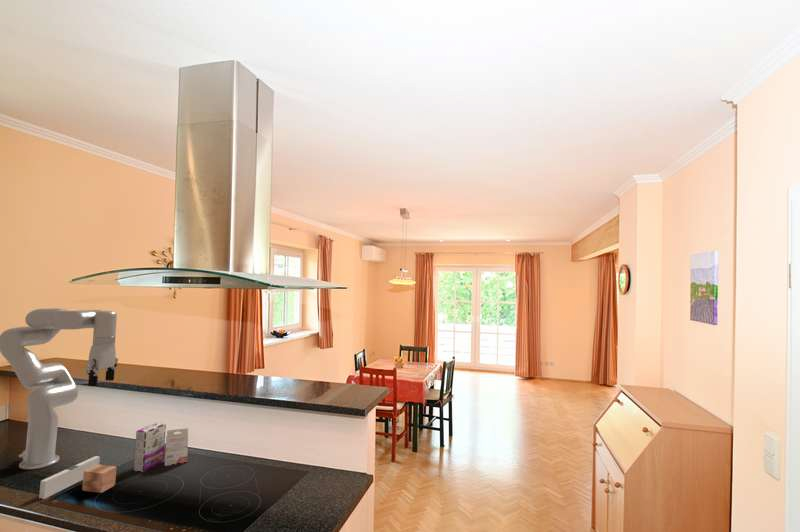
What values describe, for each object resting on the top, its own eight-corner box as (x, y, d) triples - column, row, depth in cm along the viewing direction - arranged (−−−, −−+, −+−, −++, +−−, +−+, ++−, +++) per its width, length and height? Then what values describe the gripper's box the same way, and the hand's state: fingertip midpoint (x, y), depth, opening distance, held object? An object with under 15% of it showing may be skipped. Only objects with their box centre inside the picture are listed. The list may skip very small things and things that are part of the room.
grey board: (38, 498, 143) (40, 480, 143) (94, 471, 164) (95, 455, 165) (44, 499, 142) (45, 480, 143) (98, 471, 164) (100, 456, 164)
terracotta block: (82, 490, 149) (83, 471, 150) (96, 483, 155) (98, 464, 156) (101, 493, 148) (103, 473, 149) (115, 485, 154) (116, 466, 154)
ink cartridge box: (186, 458, 180) (189, 424, 181) (186, 463, 175) (189, 428, 176) (164, 461, 176) (167, 427, 177) (163, 466, 171) (166, 430, 172)
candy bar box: (154, 460, 177) (157, 421, 178) (163, 461, 176) (166, 423, 177) (132, 471, 166) (135, 430, 167) (142, 472, 165) (146, 431, 166)
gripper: (109, 338, 176) (106, 378, 175) (78, 343, 159) (75, 387, 158) (126, 338, 176) (124, 378, 175) (98, 343, 159) (95, 388, 158)
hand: (101, 383), depth 166 cm, fingers open, 9 cm apart
